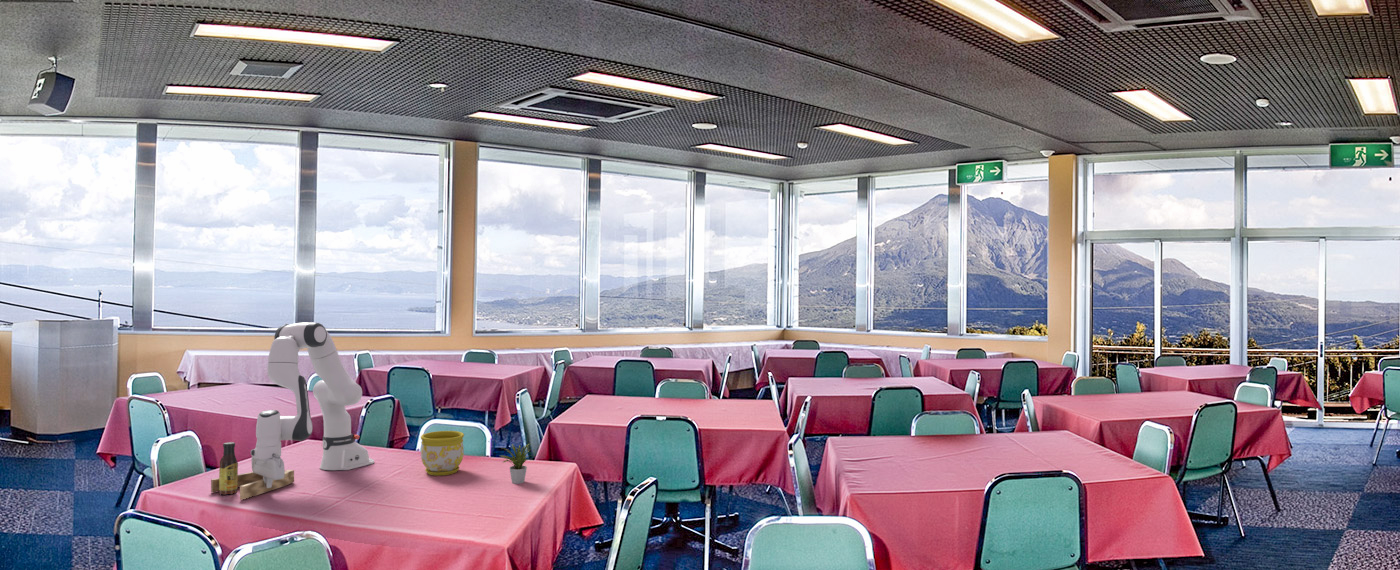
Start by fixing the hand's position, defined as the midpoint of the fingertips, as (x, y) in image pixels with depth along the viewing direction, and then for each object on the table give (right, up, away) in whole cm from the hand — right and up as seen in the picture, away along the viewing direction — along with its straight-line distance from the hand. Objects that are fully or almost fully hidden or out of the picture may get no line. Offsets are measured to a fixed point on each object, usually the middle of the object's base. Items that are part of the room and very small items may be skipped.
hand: (268, 487), depth 313 cm
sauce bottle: (-16, -3, 0) cm, 16 cm away
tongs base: (-12, -2, +8) cm, 15 cm away
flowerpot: (+57, -3, +36) cm, 67 cm away
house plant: (+94, -3, +22) cm, 96 cm away
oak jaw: (-3, -2, +4) cm, 5 cm away
